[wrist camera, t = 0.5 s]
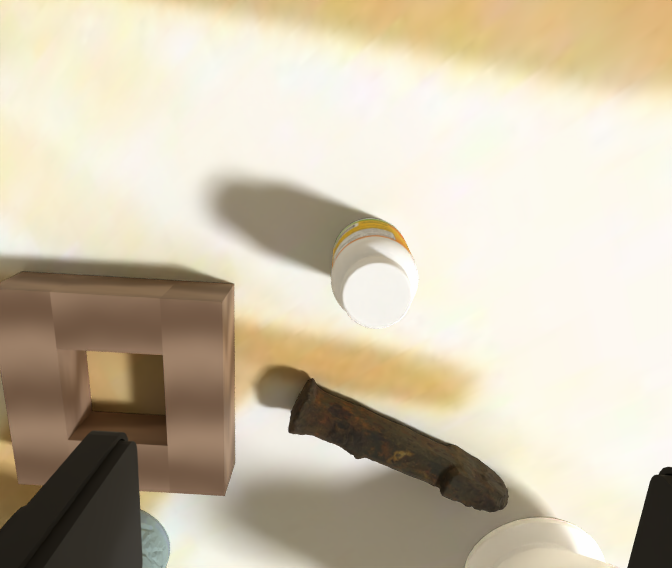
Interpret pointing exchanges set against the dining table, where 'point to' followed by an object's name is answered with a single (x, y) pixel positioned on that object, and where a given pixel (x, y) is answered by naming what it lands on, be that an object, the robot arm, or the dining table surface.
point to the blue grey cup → (153, 542)
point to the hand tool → (397, 448)
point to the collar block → (123, 337)
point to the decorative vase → (537, 546)
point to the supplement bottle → (373, 273)
